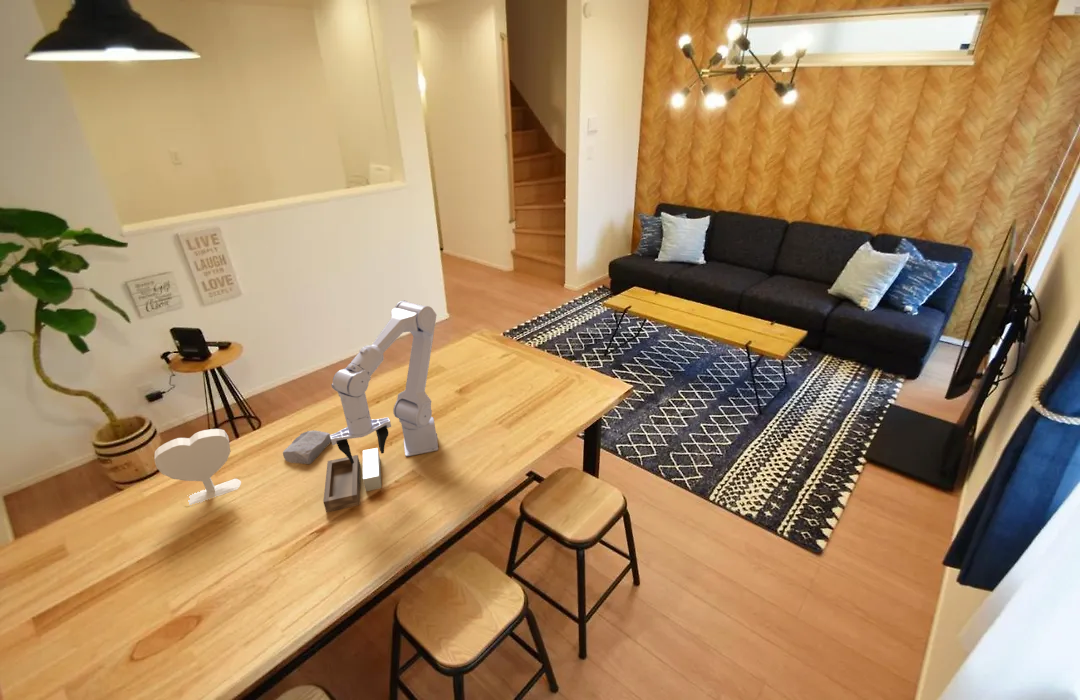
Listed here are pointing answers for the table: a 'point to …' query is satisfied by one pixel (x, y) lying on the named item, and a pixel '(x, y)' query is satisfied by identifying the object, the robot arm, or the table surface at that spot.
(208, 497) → the heart sculpture
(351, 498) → the shallow brown tray
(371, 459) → the rectangular block
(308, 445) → the stone block
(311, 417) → the table surface
